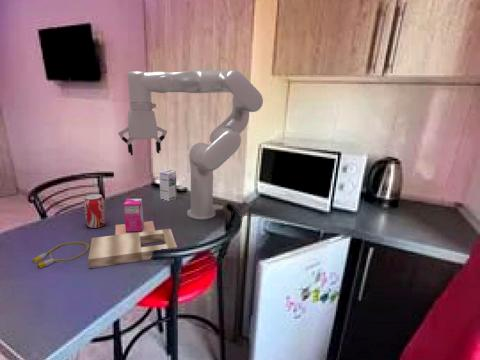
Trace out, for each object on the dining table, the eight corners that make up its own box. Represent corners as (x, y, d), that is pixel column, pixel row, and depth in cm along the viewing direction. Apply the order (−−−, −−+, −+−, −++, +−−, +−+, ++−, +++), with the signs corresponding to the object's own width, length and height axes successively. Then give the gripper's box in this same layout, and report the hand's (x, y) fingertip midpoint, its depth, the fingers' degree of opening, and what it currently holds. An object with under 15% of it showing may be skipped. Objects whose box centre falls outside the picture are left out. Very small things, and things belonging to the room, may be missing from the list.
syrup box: (168, 201, 143) (168, 173, 139) (160, 199, 146) (159, 171, 142) (176, 198, 148) (176, 170, 144) (168, 196, 150) (167, 168, 146)
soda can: (98, 230, 111) (95, 200, 108) (82, 227, 112) (78, 198, 109) (110, 222, 118) (107, 194, 114) (94, 220, 119) (91, 192, 116)
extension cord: (31, 253, 95) (30, 248, 94) (85, 241, 104) (85, 236, 103) (33, 272, 85) (32, 266, 85) (93, 257, 94) (92, 251, 94)
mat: (152, 222, 120) (152, 221, 120) (156, 235, 109) (156, 234, 109) (115, 226, 115) (115, 224, 115) (115, 240, 104) (115, 238, 104)
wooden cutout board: (170, 236, 109) (170, 228, 108) (177, 255, 97) (177, 247, 96) (92, 245, 100) (92, 237, 99) (89, 268, 87) (88, 259, 87)
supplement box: (128, 226, 114) (126, 198, 111) (144, 225, 115) (142, 198, 112) (124, 232, 109) (123, 203, 105) (141, 232, 110) (140, 203, 106)
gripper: (163, 106, 113) (166, 150, 119) (115, 107, 107) (120, 153, 112) (167, 107, 107) (169, 154, 112) (115, 108, 100) (121, 157, 105)
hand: (145, 153), depth 112 cm, fingers open, 9 cm apart
